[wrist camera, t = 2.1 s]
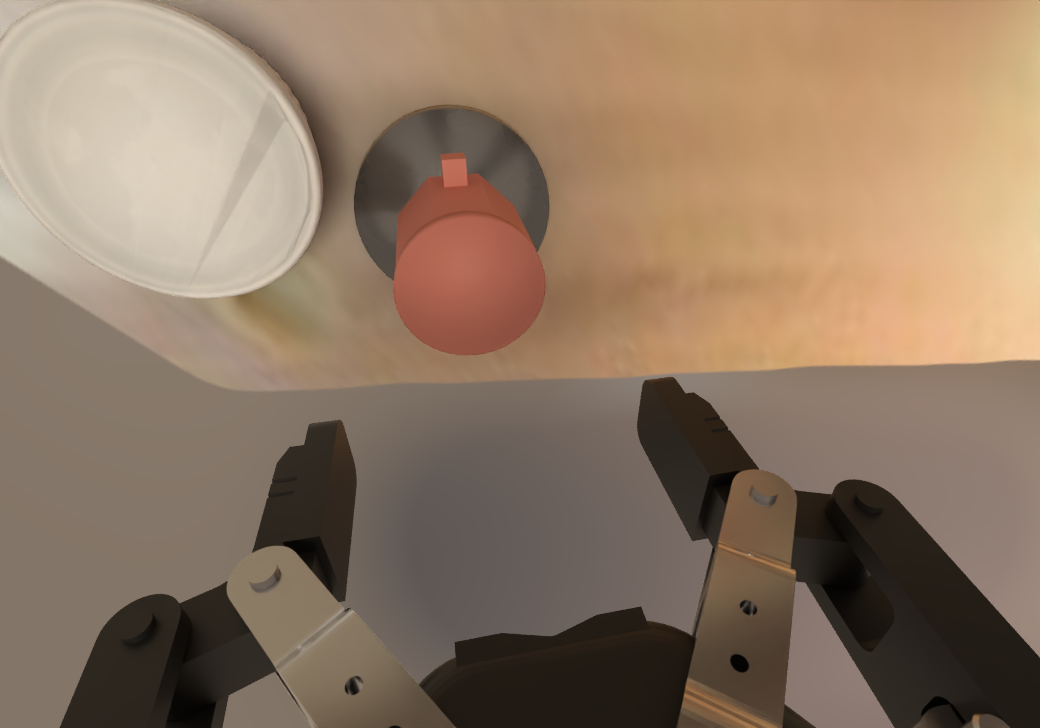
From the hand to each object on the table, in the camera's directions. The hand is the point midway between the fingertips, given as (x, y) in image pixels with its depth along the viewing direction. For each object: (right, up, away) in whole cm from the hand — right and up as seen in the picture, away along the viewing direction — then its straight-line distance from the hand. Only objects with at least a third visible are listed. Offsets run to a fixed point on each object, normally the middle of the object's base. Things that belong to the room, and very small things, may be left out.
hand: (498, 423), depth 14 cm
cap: (-2, +8, +11) cm, 14 cm away
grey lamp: (-3, +10, +14) cm, 17 cm away
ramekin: (-14, +12, +11) cm, 21 cm away
